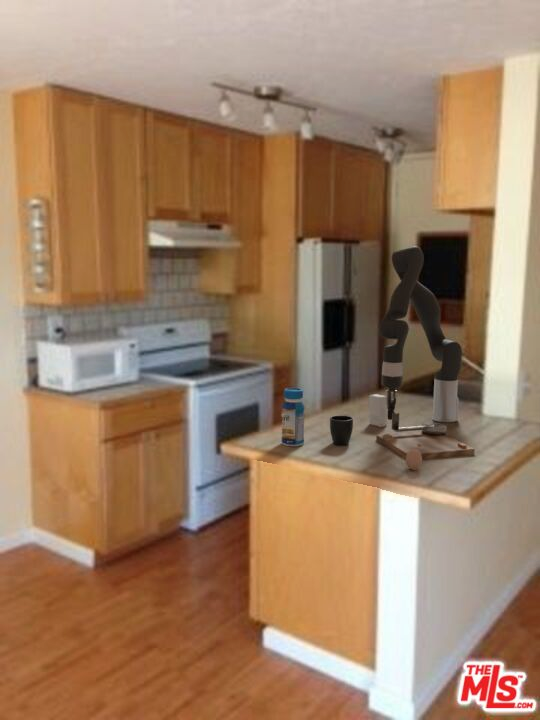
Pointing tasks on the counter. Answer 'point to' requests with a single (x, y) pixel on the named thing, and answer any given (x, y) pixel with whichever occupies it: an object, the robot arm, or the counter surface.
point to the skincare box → (377, 410)
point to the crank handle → (419, 427)
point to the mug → (341, 429)
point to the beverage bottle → (293, 417)
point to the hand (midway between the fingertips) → (390, 419)
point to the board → (425, 444)
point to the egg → (413, 459)
